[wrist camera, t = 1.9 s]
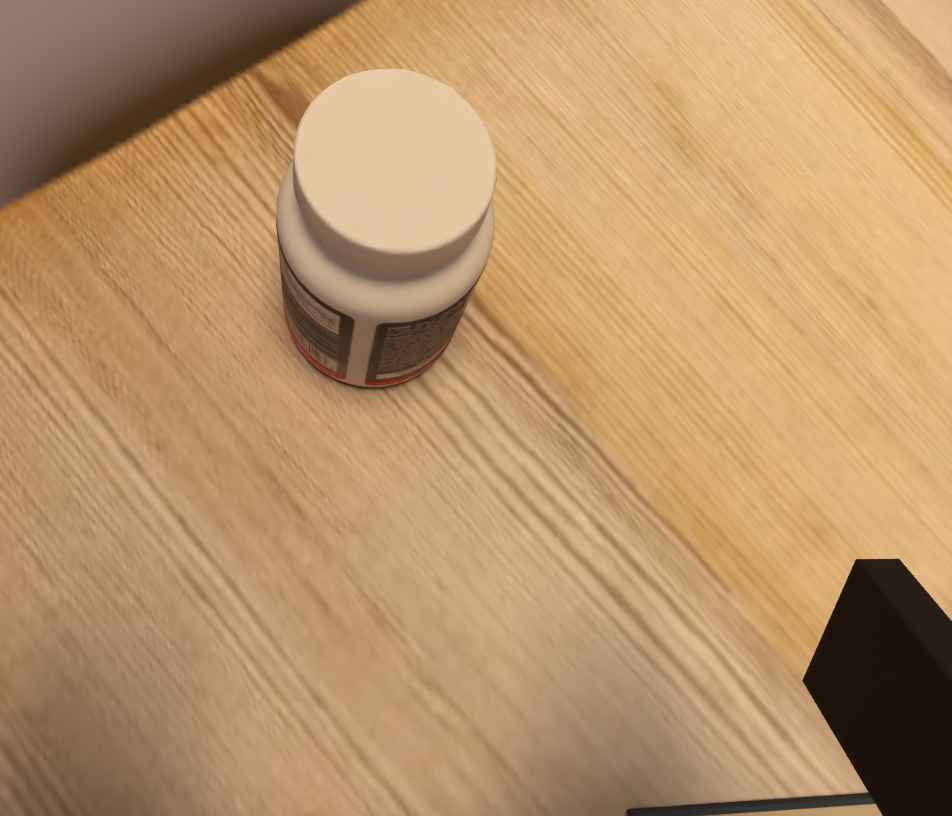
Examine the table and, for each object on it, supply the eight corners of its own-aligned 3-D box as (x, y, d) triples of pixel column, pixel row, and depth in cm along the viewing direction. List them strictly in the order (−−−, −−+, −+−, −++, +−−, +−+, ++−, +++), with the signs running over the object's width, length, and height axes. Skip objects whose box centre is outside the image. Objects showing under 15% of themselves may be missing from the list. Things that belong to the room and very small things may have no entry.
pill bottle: (461, 245, 30) (532, 73, 21) (446, 402, 29) (514, 293, 19) (295, 218, 29) (290, 26, 20) (271, 378, 28) (253, 253, 18)
